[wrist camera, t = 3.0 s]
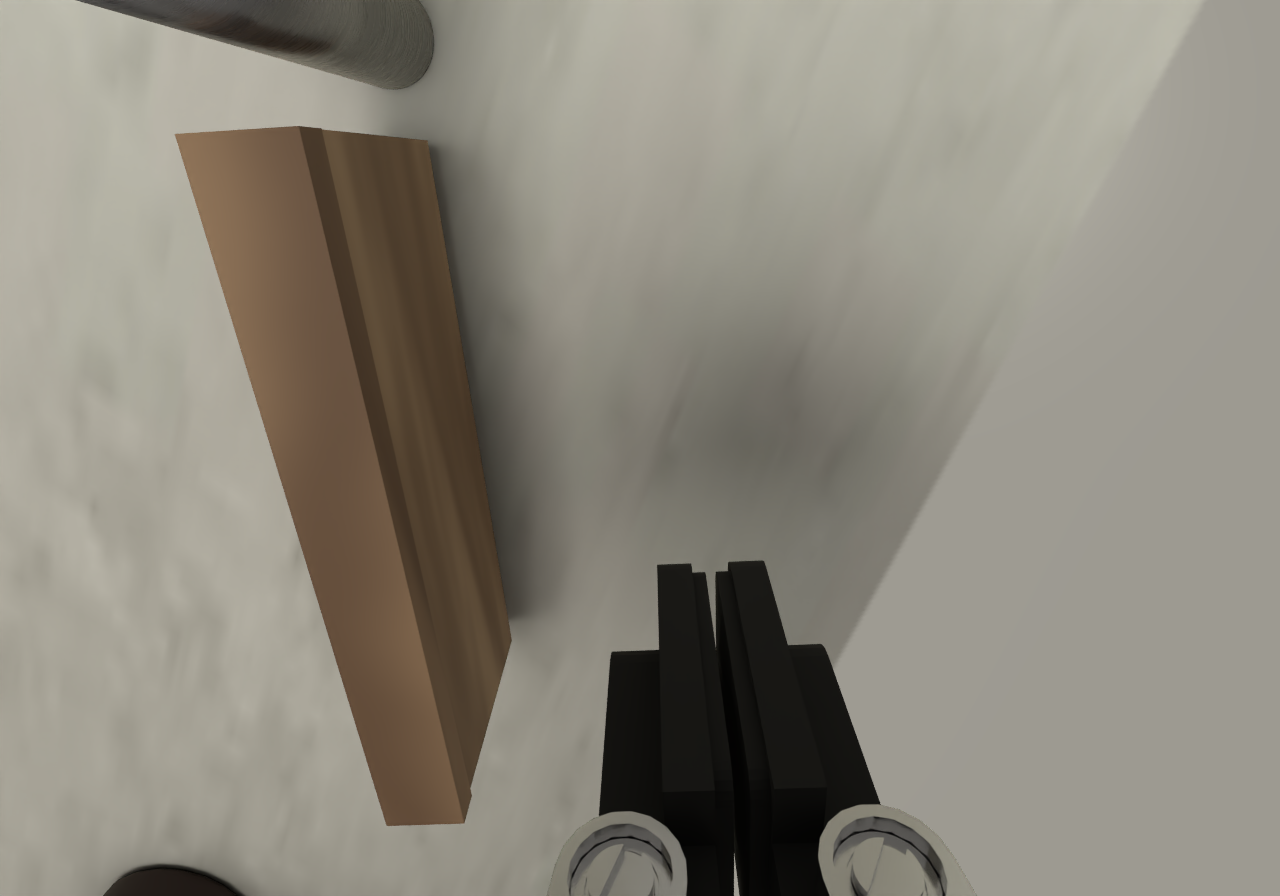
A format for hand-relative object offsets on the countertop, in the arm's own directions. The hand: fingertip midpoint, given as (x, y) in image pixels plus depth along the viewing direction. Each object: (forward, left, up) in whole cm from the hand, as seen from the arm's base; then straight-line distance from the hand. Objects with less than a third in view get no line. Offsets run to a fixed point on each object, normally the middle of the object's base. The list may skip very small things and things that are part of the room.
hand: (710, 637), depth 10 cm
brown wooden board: (+3, +6, -10) cm, 12 cm away
